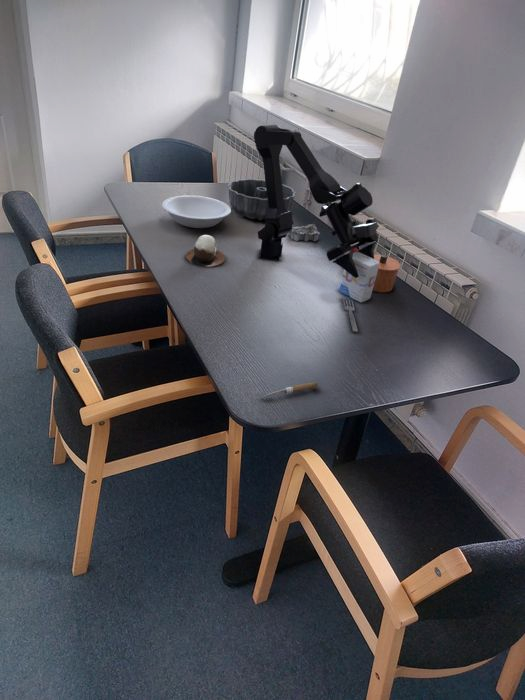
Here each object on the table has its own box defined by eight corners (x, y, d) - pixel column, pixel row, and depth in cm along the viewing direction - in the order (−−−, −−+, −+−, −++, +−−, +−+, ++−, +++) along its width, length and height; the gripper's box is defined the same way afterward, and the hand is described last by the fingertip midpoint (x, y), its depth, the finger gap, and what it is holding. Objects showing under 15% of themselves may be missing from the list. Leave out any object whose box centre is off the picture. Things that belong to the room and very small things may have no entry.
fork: (360, 333, 125) (360, 331, 124) (349, 331, 125) (350, 330, 124) (352, 301, 139) (352, 299, 138) (342, 300, 139) (342, 298, 138)
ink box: (337, 291, 143) (346, 254, 136) (347, 287, 146) (356, 250, 139) (361, 303, 138) (371, 265, 132) (370, 298, 141) (381, 261, 135)
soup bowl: (241, 232, 172) (243, 214, 168) (180, 240, 160) (181, 221, 156) (209, 210, 188) (210, 193, 184) (151, 215, 175) (150, 197, 171)
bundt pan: (216, 202, 196) (218, 177, 190) (275, 202, 206) (278, 178, 200) (239, 227, 176) (242, 200, 171) (303, 224, 187) (307, 199, 181)
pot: (362, 290, 146) (368, 268, 142) (358, 275, 154) (363, 254, 150) (395, 294, 146) (402, 272, 142) (389, 279, 154) (395, 258, 150)
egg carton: (314, 234, 180) (316, 223, 177) (319, 242, 174) (322, 231, 171) (286, 233, 177) (288, 222, 175) (291, 241, 171) (293, 230, 169)
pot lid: (367, 270, 142) (369, 261, 140) (361, 255, 151) (364, 246, 149) (403, 275, 142) (405, 265, 140) (395, 260, 151) (398, 251, 149)
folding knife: (260, 403, 97) (261, 396, 96) (257, 398, 98) (258, 391, 97) (318, 391, 103) (319, 383, 102) (314, 386, 104) (316, 379, 103)
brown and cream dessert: (189, 243, 156) (211, 224, 151) (211, 268, 159) (233, 250, 154) (177, 256, 146) (201, 236, 141) (201, 282, 149) (224, 263, 144)
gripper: (344, 215, 124) (370, 270, 125) (381, 204, 136) (404, 254, 137) (315, 234, 133) (339, 286, 133) (351, 222, 145) (374, 269, 146)
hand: (365, 273), depth 137 cm, fingers open, 9 cm apart
